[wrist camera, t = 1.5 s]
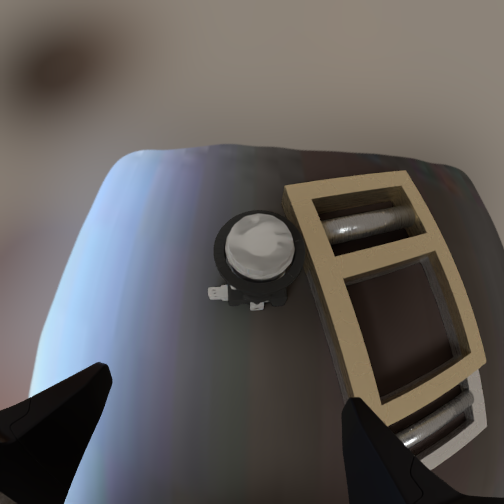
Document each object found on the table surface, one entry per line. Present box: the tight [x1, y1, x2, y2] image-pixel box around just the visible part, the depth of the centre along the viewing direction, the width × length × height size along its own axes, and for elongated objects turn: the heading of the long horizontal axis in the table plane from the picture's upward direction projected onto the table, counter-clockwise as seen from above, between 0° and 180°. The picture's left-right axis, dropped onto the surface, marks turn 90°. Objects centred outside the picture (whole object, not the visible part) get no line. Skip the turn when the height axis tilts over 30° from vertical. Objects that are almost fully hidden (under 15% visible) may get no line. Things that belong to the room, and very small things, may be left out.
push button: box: [208, 210, 306, 310], centre depth 20 cm, size 7×5×10 cm
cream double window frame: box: [281, 170, 487, 470], centre depth 21 cm, size 15×31×3 cm, turn 14°
